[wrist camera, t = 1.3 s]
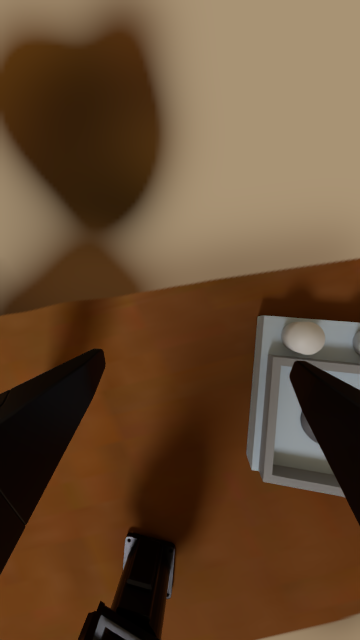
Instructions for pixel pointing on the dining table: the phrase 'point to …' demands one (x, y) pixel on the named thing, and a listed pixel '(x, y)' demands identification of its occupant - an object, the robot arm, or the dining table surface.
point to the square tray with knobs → (281, 402)
